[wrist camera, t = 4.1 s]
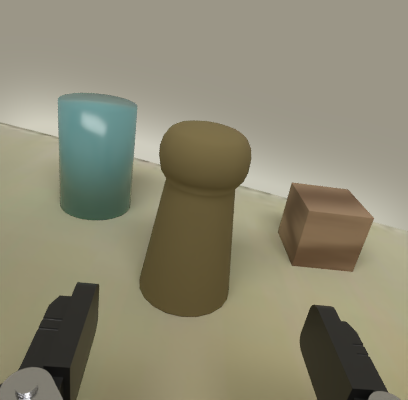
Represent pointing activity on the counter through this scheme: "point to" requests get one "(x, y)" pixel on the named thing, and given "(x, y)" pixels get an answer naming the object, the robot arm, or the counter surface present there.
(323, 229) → the walnut block
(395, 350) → the counter surface
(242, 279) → the counter surface
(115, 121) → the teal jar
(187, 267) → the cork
